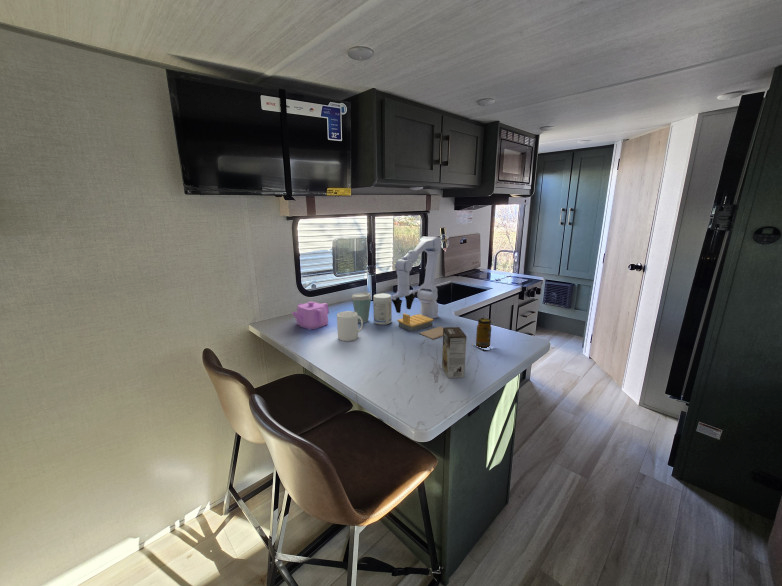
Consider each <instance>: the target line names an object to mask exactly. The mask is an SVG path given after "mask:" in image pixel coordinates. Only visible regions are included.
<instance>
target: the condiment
mask: <svg viewBox="0 0 782 586" xmlns="http://www.w3.org/2000/svg"><path fill="white" fill-rule="evenodd" d="M475 337H476V338H475V343H476V346H478V347H481V348H487V347H489V346H490V345H491V338H492V320H491V319H489V318H483V317H482V318H479V319H478V321H477V325H476V335H475ZM473 344H474V343H471V345H472V346H473ZM478 349H479V350H481V351H483V350H484V349H480V348H478Z"/></svg>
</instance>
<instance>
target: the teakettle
mask: <svg viewBox="0 0 782 586" xmlns="http://www.w3.org/2000/svg"><path fill="white" fill-rule="evenodd" d="M291 314H292V316H293V317H294V318H295V319H296V320H295V321H296V323H297V325H298V326H299V325H300V326H299V327H301V328H303V327H304V328H303V329H305V328H307V329H306V330H308V329H313V330H315V328H316V329H320V328H323V327H326V326H328V324H329V316H328V314H330V310H329V305H328V303H326V302H324V303H320V302H315V301H312V300H311V301H308V302H306V303H298V305H297V306H296V311H293V312H291ZM325 325H326V326H325ZM322 326H323V327H322ZM319 327H320V328H319Z"/></svg>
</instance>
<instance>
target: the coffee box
mask: <svg viewBox="0 0 782 586" xmlns="http://www.w3.org/2000/svg"><path fill="white" fill-rule="evenodd" d="M466 351H467V335H466V334H465V332H464V331H463V330H462V328H461V327H460V326H458V327H457V326H456V327H455V326H449V327H447V326H446V327H445V326H444V327H443V336H442V355H441V357H442V358H441V359H442V360H441V361H442V362H441V367H442V369H443V371H444V373H445V376H446V377H447V379H452V378H455V379H457V378H465V369H466V368H465V367H466V366H465V365H466V354H467V353H466Z"/></svg>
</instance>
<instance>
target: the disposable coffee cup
mask: <svg viewBox="0 0 782 586" xmlns="http://www.w3.org/2000/svg"><path fill="white" fill-rule="evenodd" d="M351 300H352V306H353V312H356V313H357V316H360V317H361V318H362V321H363V324H364V323H367V322H368V321H369V316H370V309H371V301H372V295H371V293H370V292H359V293H358V292H357V293H354V294H352V296H351ZM358 323H361V320H360V319H358Z"/></svg>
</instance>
